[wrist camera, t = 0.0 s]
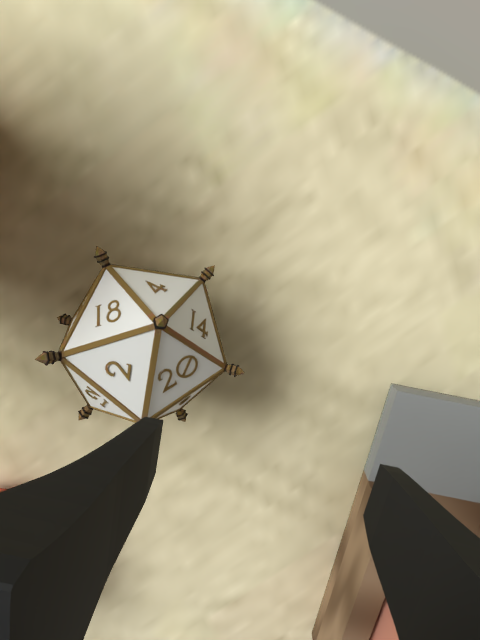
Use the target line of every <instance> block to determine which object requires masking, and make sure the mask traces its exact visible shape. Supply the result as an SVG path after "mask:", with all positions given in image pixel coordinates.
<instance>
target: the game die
mask: <svg viewBox="0 0 480 640" xmlns="http://www.w3.org/2000/svg"><path fill="white" fill-rule="evenodd" d="M94 258H97V260H98V261H97V263H100V264H101V265H102V269H101V271H100V273H99V274H98V276H97V278H96V279H95V281H94V283H93V284H92V286H91V288H90V289H89V291H88V293H87V294H86V296H85V298H84V299H83V301H82V303H81V305H80V306H79V308H78V310H77V311H76V313H75V315H74V316H73V318H71V316H70V315H66V314H64V315H62V316H59V317H57V318H58V320H59V321H60V324H64V325H69V327H68V329H67V332H66V334H65V337H64V339H63V341H62V344H61V346H60V349H59V351H58V352H54V351H49V352H46V351H43V353H42V354H41V355H40V356H38V357H37V358H36V359H35V360H37V361H39V362H42V363H44V364H45V365H46V366H47V365H48V364H50V363H51V364H54V362H56V361H61V363H62V364H63V366H64V368H65V369H66V371H67V372H68V374H69V376H70V377H71V379H72V380H73V382H74V383H75V385H76V387H77V388H78V390H79V391H80V393H81V395H82V396H83V398H84V399H85V401H86V403H87V406H85V407H82V410H80V411H78V412H79V420H82V419H88V417H89V415H91V413H92V410H93V409H95V410H98V411H101V412H105V413H108V414H111V415H114V416H117V417H120V418H123V419H126V420H129V421H132V422H135V423H136V422H138V421H139V420H141V419H142V418H144V417H150V418H155V419H160V418H162V417H165V416H167V415H169V414H172V413H174V412H176V415H177V417H178V420H181V421H184V422H185V421H186V416H187V415H188V414H187V413H186V412H185V411H186V410H183V409H182V408H183V407H184V406H185V405H186V404H187V403H189V402H190V401H191V400H192V399H193V398H194V397H195V396H197V395H198V394H199V393H200V392H201V391H202V390H203V389H205V388H206V387H207V386H208V385H209V384H210V383H212V382H213V381H214V380H215V379H216V378H217V377H218V376H220V375H221V374H222V373H223V372H224V371H226V372H228V373H229V375H234V377H235V376H237V375H240V374H243V373H244V372H243V371H242V369H241V368H240V367H239V365H237V366H235V365H234V364H231V365H228V364H227V362H226V359H225V355H224V352H223V348H222V344H221V341H220V337H219V333H218V330H217V326H216V322H215V319H214V315H213V312H212V308H211V304H210V301H209V297H208V293H207V290H206V286H205V281H206V280H208V279H209V280H210V277H211V276H214V275H213V272H214V267H215V265H214V266H211V267H208V268H205V270H204V271H203V272H202V274H201V276H200V277H192V276H185V275H179V274H172V273H165V272H159V271H152V270H146V269H139V268H132V267H126V266H119V265H112V264H110V263H109V260H108V259H109V256H108V257H107V252H105V251H103V250H102V249H101V248H99V247H98V246H96V254H95V256H94Z"/></svg>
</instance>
